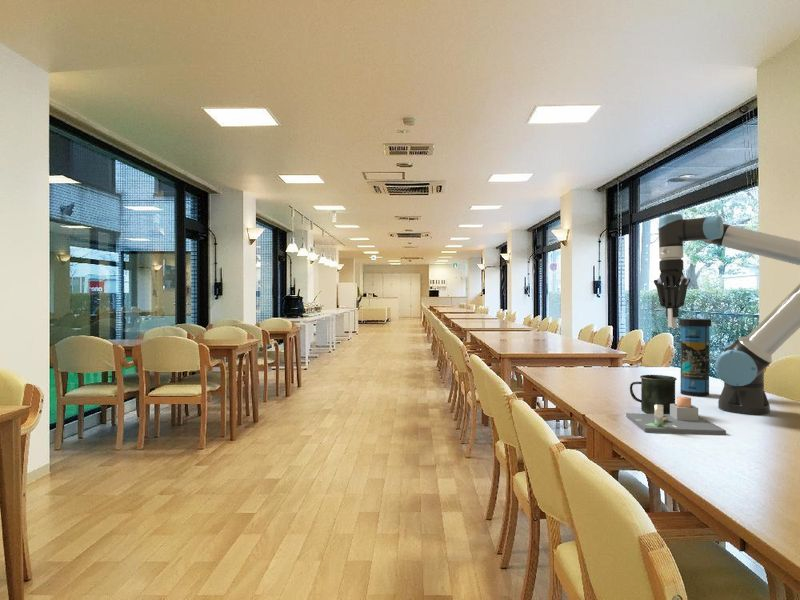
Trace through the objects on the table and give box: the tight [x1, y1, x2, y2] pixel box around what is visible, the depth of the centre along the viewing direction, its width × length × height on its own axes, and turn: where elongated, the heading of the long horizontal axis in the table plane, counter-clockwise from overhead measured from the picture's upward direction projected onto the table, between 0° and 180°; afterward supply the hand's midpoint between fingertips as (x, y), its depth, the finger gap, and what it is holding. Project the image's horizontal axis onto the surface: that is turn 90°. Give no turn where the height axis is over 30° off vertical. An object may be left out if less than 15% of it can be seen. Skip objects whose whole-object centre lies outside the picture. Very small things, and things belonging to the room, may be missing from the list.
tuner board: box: [625, 403, 727, 436], centre depth 168 cm, size 22×20×5 cm
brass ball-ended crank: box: [654, 404, 668, 426], centre depth 165 cm, size 11×3×6 cm, turn 148°
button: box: [676, 396, 692, 408], centre depth 172 cm, size 4×4×5 cm
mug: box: [629, 374, 677, 414], centre depth 187 cm, size 11×15×12 cm
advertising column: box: [678, 317, 712, 398], centre depth 219 cm, size 11×11×30 cm
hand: (672, 326), depth 191 cm, fingers closed
